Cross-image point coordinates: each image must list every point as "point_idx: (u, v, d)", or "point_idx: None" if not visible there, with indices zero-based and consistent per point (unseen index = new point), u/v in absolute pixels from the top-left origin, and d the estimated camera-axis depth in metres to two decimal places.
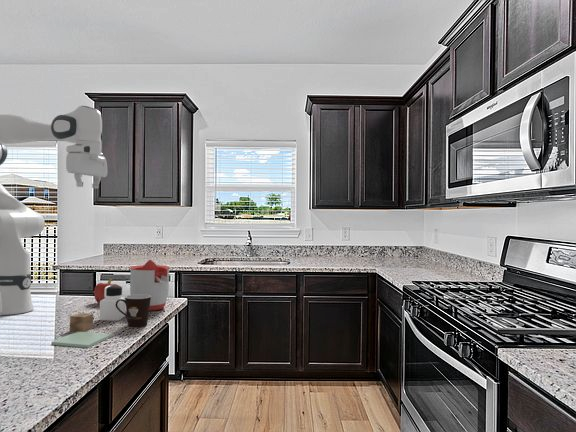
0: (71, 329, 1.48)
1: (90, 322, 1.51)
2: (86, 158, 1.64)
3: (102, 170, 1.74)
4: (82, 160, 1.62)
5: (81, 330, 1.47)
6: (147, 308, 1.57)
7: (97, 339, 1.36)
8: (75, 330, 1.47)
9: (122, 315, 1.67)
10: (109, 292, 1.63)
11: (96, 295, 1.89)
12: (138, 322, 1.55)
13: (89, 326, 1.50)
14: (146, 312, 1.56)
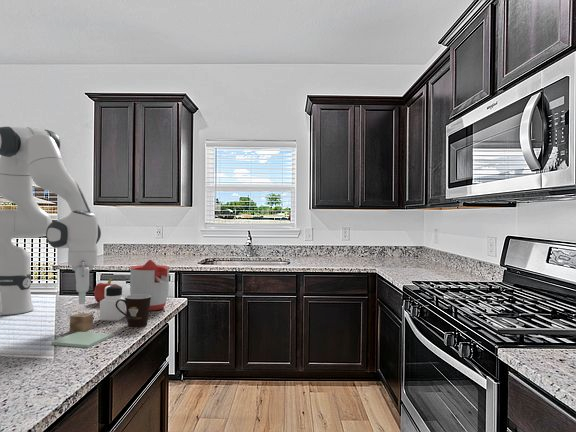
0: (71, 329, 1.48)
1: (90, 322, 1.51)
2: None
3: None
4: None
5: (81, 330, 1.47)
6: (147, 308, 1.57)
7: (97, 339, 1.36)
8: (75, 330, 1.47)
9: (122, 315, 1.67)
10: (109, 292, 1.63)
11: (96, 295, 1.89)
12: (138, 322, 1.55)
13: (89, 326, 1.50)
14: (146, 312, 1.56)
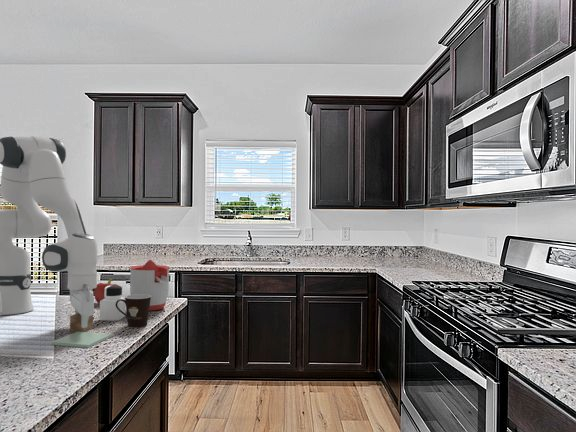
0: (71, 329, 1.48)
1: (90, 321, 1.51)
2: None
3: (79, 307, 1.44)
4: (73, 293, 1.54)
5: (81, 330, 1.47)
6: (147, 308, 1.57)
7: (97, 339, 1.36)
8: (75, 330, 1.47)
9: (122, 315, 1.67)
10: (109, 292, 1.63)
11: (96, 295, 1.89)
12: (138, 322, 1.55)
13: (90, 326, 1.50)
14: (146, 312, 1.56)
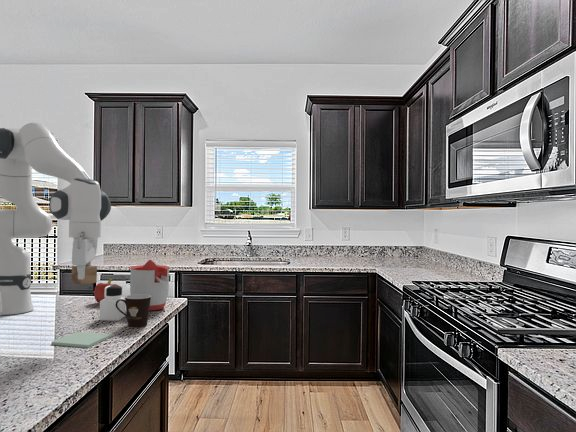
0: (72, 280, 1.36)
1: (93, 274, 1.37)
2: None
3: None
4: None
5: (80, 282, 1.34)
6: (147, 308, 1.57)
7: (97, 339, 1.36)
8: (75, 282, 1.35)
9: (122, 315, 1.67)
10: (109, 292, 1.63)
11: (96, 295, 1.89)
12: (138, 322, 1.55)
13: (92, 279, 1.37)
14: (146, 312, 1.56)
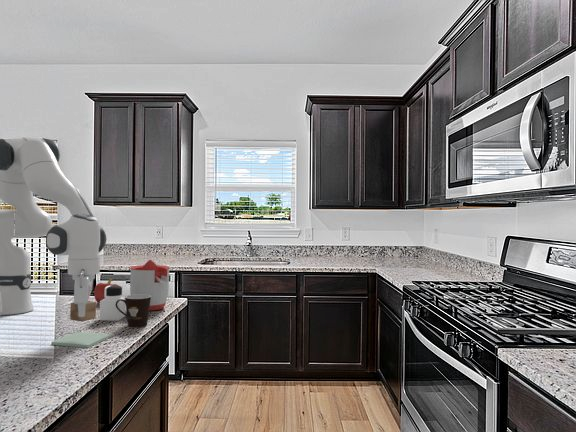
0: (71, 317, 1.36)
1: (92, 310, 1.38)
2: None
3: None
4: None
5: (80, 319, 1.34)
6: (147, 308, 1.57)
7: (97, 339, 1.36)
8: (75, 319, 1.35)
9: (122, 315, 1.67)
10: (109, 292, 1.63)
11: (96, 295, 1.89)
12: (138, 322, 1.55)
13: (91, 316, 1.37)
14: (146, 312, 1.56)
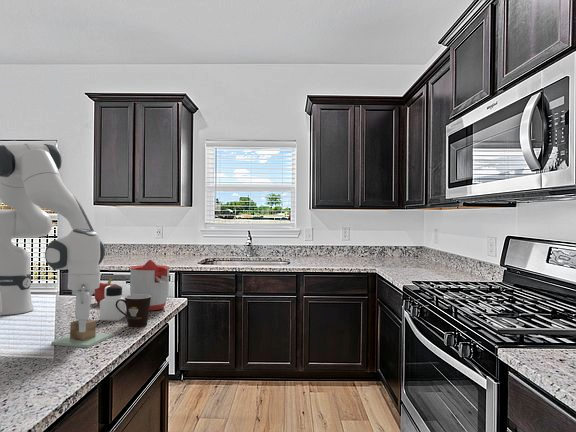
0: (71, 336, 1.36)
1: (92, 329, 1.38)
2: None
3: None
4: None
5: (80, 338, 1.35)
6: (147, 308, 1.57)
7: (97, 339, 1.36)
8: (75, 338, 1.36)
9: (122, 315, 1.67)
10: (109, 292, 1.63)
11: (96, 295, 1.89)
12: (138, 322, 1.55)
13: (91, 334, 1.38)
14: (146, 312, 1.56)
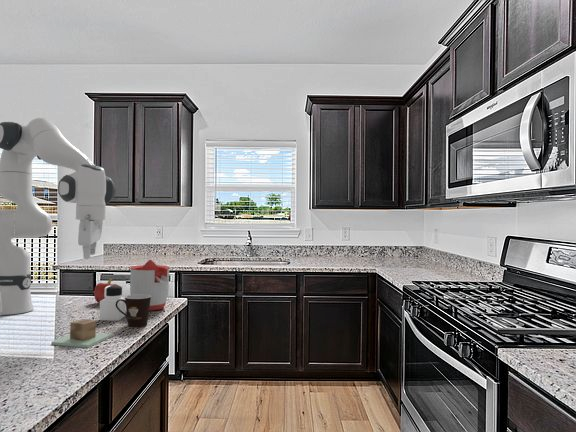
0: (71, 336, 1.36)
1: (92, 329, 1.38)
2: None
3: None
4: None
5: (80, 338, 1.35)
6: (147, 308, 1.57)
7: (97, 339, 1.36)
8: (75, 338, 1.36)
9: (122, 315, 1.67)
10: (109, 292, 1.63)
11: (96, 295, 1.89)
12: (138, 322, 1.55)
13: (91, 334, 1.38)
14: (146, 312, 1.56)
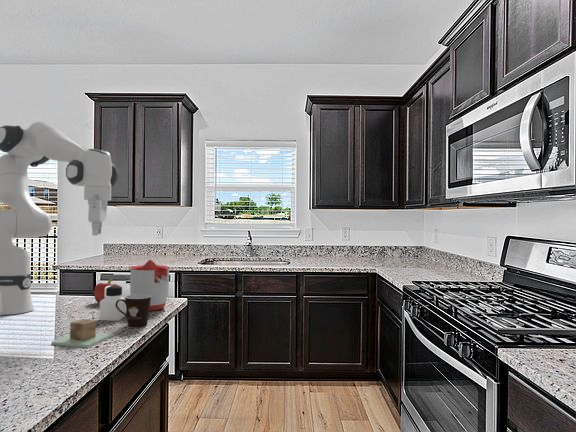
0: (71, 336, 1.36)
1: (92, 329, 1.38)
2: None
3: None
4: None
5: (80, 338, 1.35)
6: (147, 308, 1.57)
7: (97, 339, 1.36)
8: (75, 338, 1.36)
9: (122, 315, 1.67)
10: (109, 292, 1.63)
11: (96, 295, 1.89)
12: (138, 322, 1.55)
13: (91, 334, 1.38)
14: (146, 312, 1.56)
